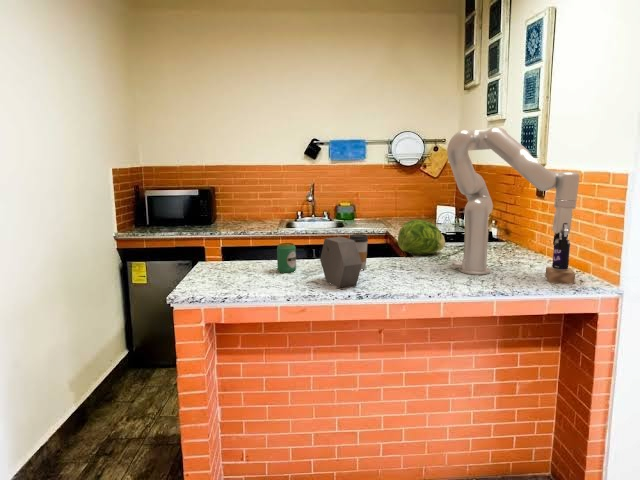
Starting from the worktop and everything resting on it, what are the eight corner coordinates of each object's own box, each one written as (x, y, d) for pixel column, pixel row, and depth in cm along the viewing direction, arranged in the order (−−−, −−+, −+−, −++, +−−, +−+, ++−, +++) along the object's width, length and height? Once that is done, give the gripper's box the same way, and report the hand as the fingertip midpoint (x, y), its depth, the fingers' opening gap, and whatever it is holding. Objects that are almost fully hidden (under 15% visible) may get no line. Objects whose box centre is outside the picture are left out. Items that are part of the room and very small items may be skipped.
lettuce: (456, 241, 235) (445, 215, 248) (412, 234, 229) (403, 208, 242) (440, 266, 247) (431, 240, 260) (397, 260, 241) (390, 234, 254)
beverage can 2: (554, 267, 197) (556, 238, 194) (569, 269, 193) (572, 239, 191) (550, 269, 192) (552, 240, 190) (565, 272, 189) (568, 241, 187)
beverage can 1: (286, 274, 206) (286, 246, 204) (273, 271, 211) (273, 244, 209) (299, 271, 211) (299, 244, 209) (287, 268, 217) (286, 241, 215)
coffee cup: (371, 268, 215) (372, 235, 212) (359, 272, 209) (360, 237, 206) (356, 266, 220) (357, 233, 218) (344, 269, 214) (344, 235, 212)
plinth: (548, 282, 190) (549, 271, 190) (545, 276, 199) (546, 266, 198) (574, 284, 188) (575, 273, 187) (569, 278, 196) (570, 267, 196)
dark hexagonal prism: (366, 277, 181) (350, 227, 188) (348, 280, 178) (333, 229, 185) (346, 292, 195) (333, 245, 202) (330, 294, 192) (316, 247, 199)
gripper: (550, 201, 197) (545, 242, 201) (558, 206, 181) (553, 251, 184) (571, 202, 195) (565, 244, 199) (580, 207, 179) (574, 252, 182)
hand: (559, 247), depth 191 cm, fingers open, 9 cm apart
